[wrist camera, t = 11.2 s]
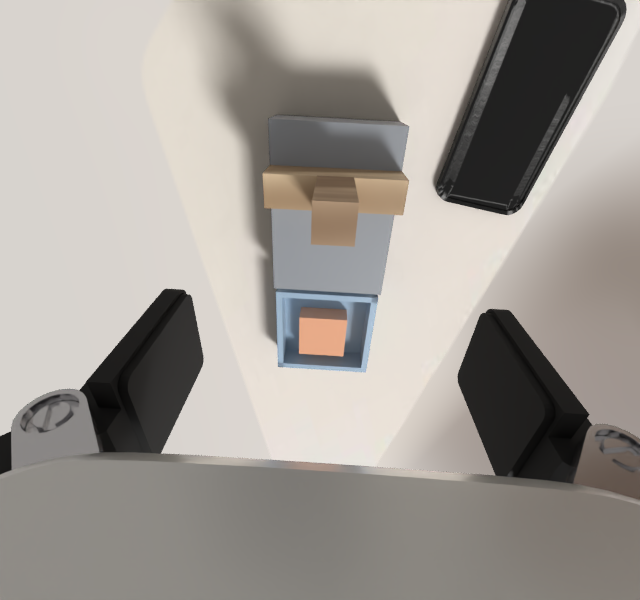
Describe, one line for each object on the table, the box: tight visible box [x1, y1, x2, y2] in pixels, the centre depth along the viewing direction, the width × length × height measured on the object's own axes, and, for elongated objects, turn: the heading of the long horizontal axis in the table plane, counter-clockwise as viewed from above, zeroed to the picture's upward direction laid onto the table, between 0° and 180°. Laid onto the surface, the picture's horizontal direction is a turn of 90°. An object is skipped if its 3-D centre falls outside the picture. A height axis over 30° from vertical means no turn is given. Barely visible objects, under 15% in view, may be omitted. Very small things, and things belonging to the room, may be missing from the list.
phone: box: [436, 0, 626, 215], centre depth 26 cm, size 8×1×15 cm
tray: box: [276, 289, 378, 372], centre depth 36 cm, size 10×10×3 cm
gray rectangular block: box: [268, 115, 409, 295], centre depth 29 cm, size 14×10×4 cm
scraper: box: [263, 165, 409, 247], centre depth 22 cm, size 2×10×9 cm, turn 88°
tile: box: [299, 307, 347, 356], centre depth 37 cm, size 5×5×2 cm
